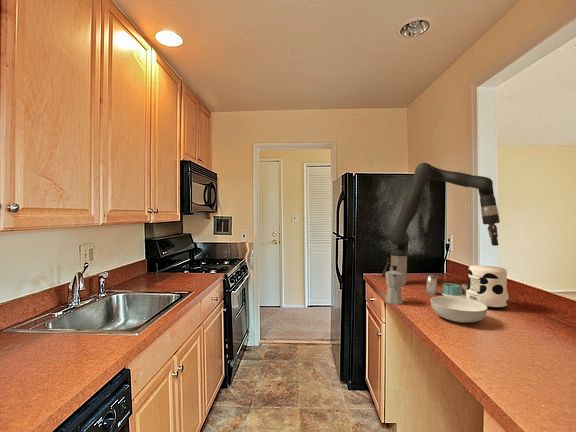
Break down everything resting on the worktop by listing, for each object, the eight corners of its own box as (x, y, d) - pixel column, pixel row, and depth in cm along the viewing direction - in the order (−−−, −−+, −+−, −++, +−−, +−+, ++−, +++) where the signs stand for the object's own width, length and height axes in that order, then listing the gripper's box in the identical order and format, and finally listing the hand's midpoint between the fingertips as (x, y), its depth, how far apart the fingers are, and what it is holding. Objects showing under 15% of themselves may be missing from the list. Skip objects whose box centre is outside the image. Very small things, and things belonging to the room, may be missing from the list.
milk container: (508, 304, 154) (508, 267, 154) (509, 313, 140) (510, 273, 140) (467, 298, 164) (467, 263, 164) (464, 306, 149) (465, 268, 149)
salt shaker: (428, 294, 170) (428, 276, 170) (424, 292, 175) (425, 274, 175) (438, 295, 170) (438, 276, 170) (434, 292, 175) (434, 274, 175)
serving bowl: (456, 330, 120) (457, 312, 120) (419, 313, 140) (420, 297, 140) (500, 325, 125) (500, 308, 125) (458, 309, 145) (458, 294, 145)
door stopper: (395, 276, 218) (396, 258, 218) (396, 277, 212) (396, 260, 212) (382, 275, 221) (382, 257, 221) (382, 276, 215) (382, 259, 215)
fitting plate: (448, 298, 163) (448, 287, 163) (438, 292, 174) (439, 282, 174) (482, 299, 163) (482, 288, 163) (470, 293, 174) (470, 283, 174)
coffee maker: (403, 306, 148) (404, 268, 148) (384, 304, 151) (384, 267, 151) (403, 298, 163) (403, 263, 162) (385, 296, 165) (385, 262, 165)
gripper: (481, 216, 176) (485, 245, 174) (482, 214, 164) (487, 246, 162) (497, 214, 173) (502, 244, 171) (499, 212, 160) (505, 245, 158)
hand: (495, 245), depth 166 cm, fingers open, 8 cm apart
